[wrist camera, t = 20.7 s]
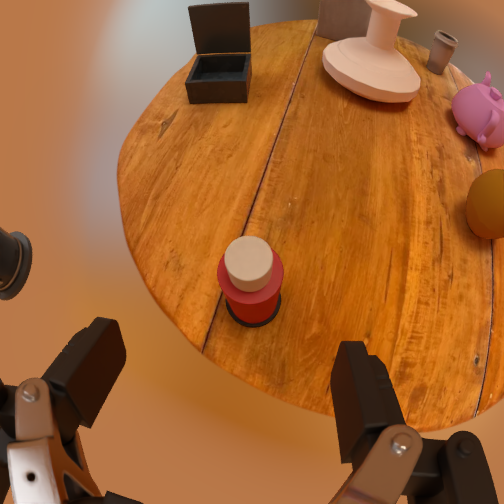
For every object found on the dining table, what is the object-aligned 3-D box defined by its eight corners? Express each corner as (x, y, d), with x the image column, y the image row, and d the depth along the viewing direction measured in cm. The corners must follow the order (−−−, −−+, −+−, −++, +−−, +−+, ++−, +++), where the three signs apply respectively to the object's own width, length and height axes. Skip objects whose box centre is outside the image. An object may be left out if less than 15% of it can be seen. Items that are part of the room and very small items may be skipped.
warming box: (247, 102, 45) (246, 81, 40) (189, 104, 45) (184, 83, 41) (251, 73, 48) (251, 53, 44) (201, 74, 49) (197, 55, 44)
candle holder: (315, 96, 45) (329, 1, 27) (323, 51, 52) (333, -20, 34) (419, 126, 43) (457, 45, 25) (406, 74, 50) (428, 9, 32)
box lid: (248, 3, 33) (248, 1, 33) (187, 7, 34) (189, 5, 34) (250, 52, 43) (251, 50, 44) (196, 54, 44) (197, 52, 44)
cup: (438, 78, 50) (453, 43, 39) (418, 64, 52) (431, 28, 41) (448, 75, 52) (463, 43, 40) (430, 61, 54) (442, 29, 43)
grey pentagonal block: (381, 44, 55) (395, -14, 37) (378, 54, 53) (394, -9, 35) (323, 26, 58) (330, -32, 40) (315, 35, 56) (322, -29, 38)
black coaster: (223, 325, 31) (222, 324, 30) (229, 273, 33) (228, 270, 32) (278, 329, 31) (279, 328, 30) (281, 276, 33) (282, 274, 32)
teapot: (445, 92, 48) (463, 53, 36) (491, 122, 45) (513, 88, 34) (444, 138, 42) (471, 91, 30) (498, 175, 39) (531, 137, 27)
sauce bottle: (221, 298, 31) (196, 254, 19) (255, 269, 32) (252, 210, 20) (251, 332, 30) (244, 310, 18) (286, 302, 31) (302, 260, 19)
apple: (465, 186, 38) (500, 143, 27) (500, 227, 35) (541, 192, 24) (443, 217, 35) (486, 171, 25) (483, 263, 32) (533, 230, 22)
